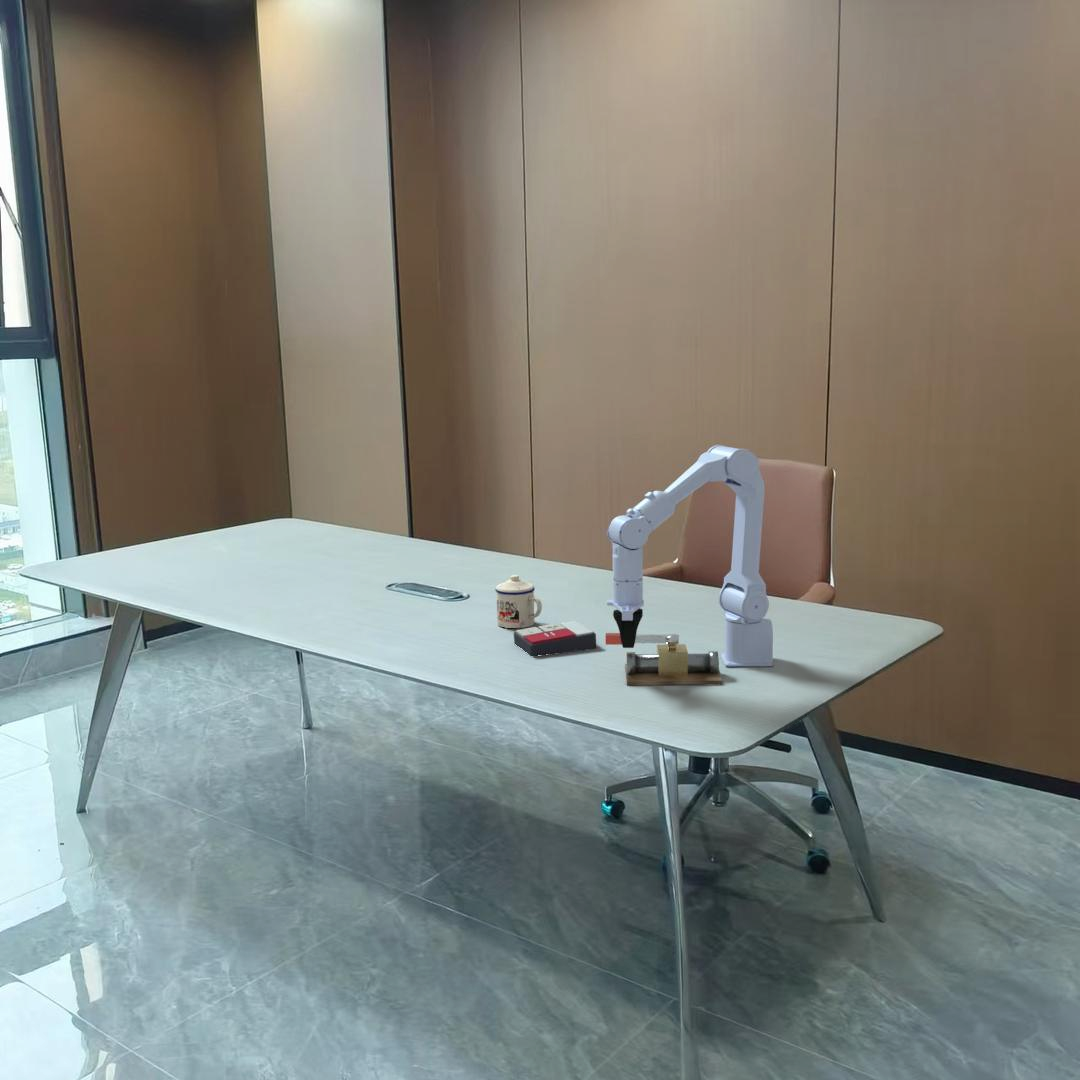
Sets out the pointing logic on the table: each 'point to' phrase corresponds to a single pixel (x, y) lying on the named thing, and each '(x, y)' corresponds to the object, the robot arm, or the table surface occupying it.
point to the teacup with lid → (516, 603)
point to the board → (672, 678)
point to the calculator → (555, 638)
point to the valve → (672, 661)
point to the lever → (643, 639)
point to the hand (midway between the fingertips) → (628, 647)
